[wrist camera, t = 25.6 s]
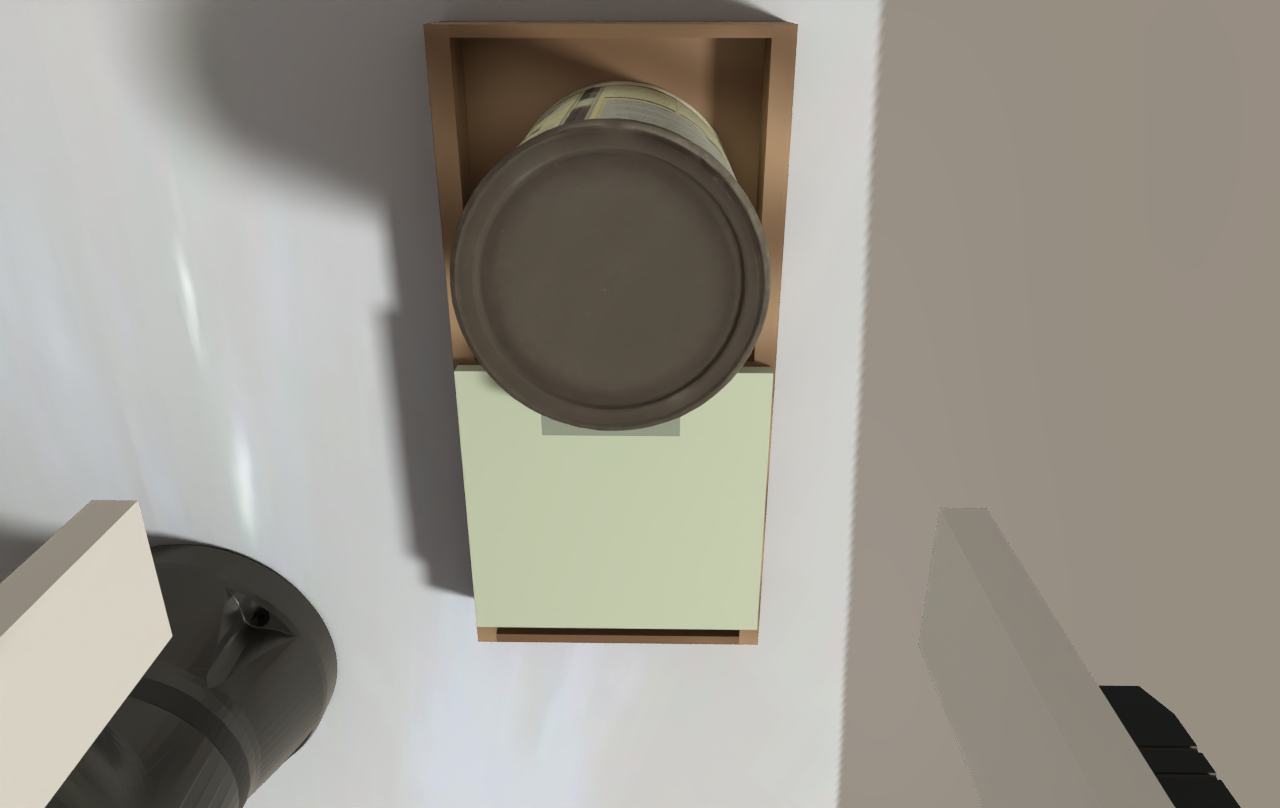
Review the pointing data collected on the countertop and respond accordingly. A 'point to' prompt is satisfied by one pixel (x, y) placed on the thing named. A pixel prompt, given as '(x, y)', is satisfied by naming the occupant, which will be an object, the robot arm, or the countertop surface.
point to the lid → (616, 512)
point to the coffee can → (612, 262)
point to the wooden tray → (596, 53)
